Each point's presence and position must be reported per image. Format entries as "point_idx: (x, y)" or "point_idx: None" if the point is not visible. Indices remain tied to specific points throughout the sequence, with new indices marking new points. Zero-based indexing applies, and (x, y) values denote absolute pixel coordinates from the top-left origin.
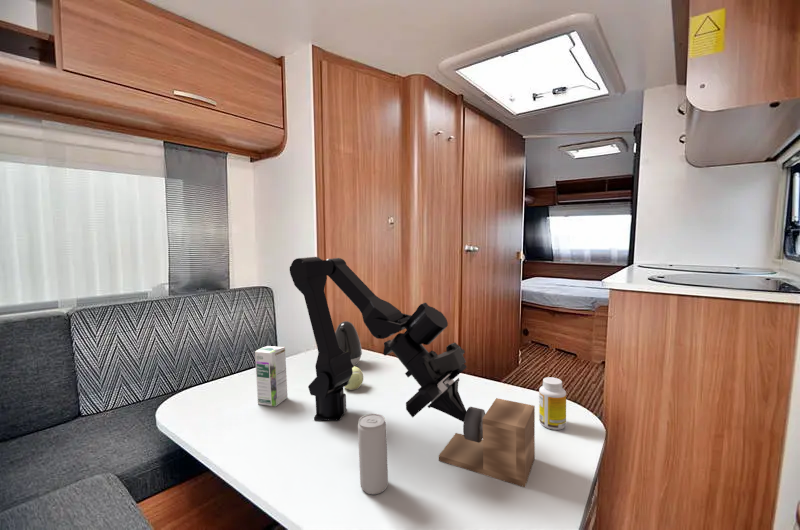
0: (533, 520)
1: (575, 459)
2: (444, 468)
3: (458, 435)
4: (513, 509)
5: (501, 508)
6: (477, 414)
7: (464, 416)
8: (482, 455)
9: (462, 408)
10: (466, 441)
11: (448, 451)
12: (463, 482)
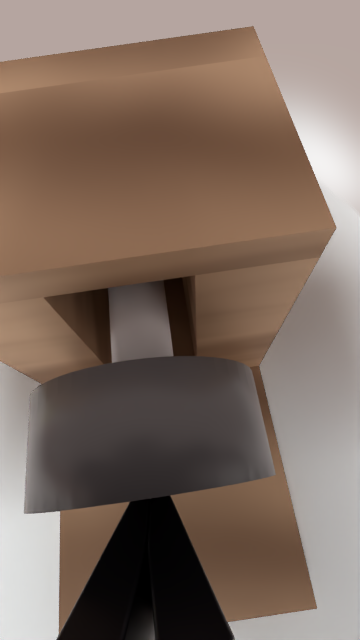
0: (328, 199)
1: None
2: (334, 532)
3: None
4: (331, 243)
5: (353, 266)
6: (185, 370)
7: (179, 523)
8: None
9: (136, 586)
10: (112, 533)
11: (249, 576)
12: (346, 412)
